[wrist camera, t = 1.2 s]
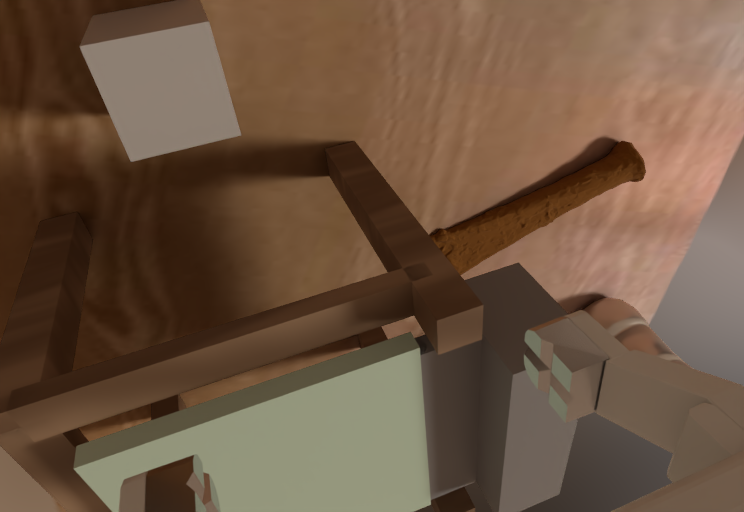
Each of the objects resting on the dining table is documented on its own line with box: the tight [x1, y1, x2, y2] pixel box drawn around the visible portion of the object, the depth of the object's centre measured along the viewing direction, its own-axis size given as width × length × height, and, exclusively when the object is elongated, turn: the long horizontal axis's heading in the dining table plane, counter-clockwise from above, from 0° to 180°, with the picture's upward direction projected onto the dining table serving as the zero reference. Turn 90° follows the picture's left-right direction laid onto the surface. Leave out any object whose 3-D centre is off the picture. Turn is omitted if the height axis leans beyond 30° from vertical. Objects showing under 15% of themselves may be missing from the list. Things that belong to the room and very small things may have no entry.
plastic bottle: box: [583, 298, 693, 369], centre depth 45 cm, size 6×7×20 cm
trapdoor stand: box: [0, 141, 484, 512], centre depth 30 cm, size 19×19×16 cm
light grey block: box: [79, 0, 241, 162], centre depth 24 cm, size 5×5×6 cm
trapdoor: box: [73, 263, 578, 512], centre depth 26 cm, size 14×21×6 cm, turn 96°
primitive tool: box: [430, 141, 646, 275], centre depth 40 cm, size 19×6×4 cm, turn 116°
